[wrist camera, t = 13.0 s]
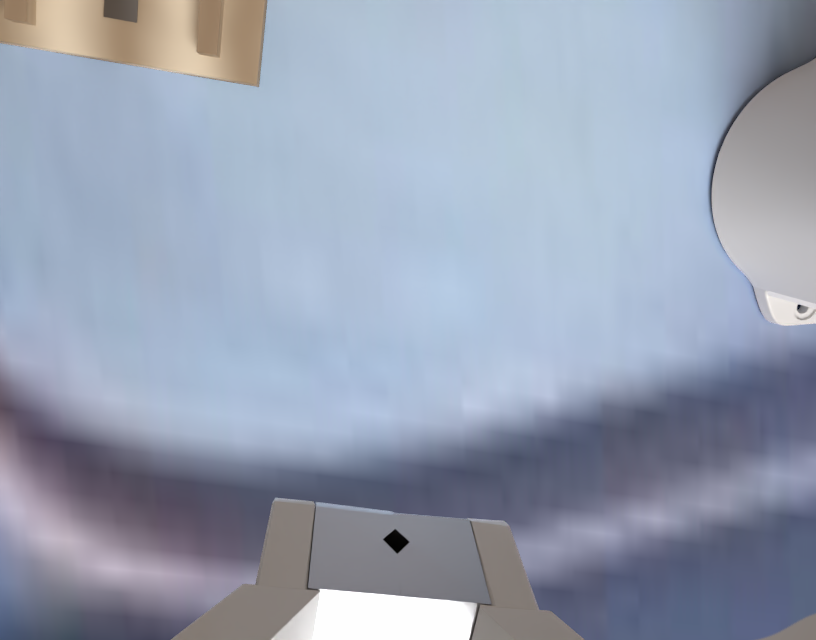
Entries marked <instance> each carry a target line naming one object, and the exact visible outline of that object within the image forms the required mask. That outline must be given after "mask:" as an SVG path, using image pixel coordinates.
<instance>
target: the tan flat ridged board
mask: <svg viewBox="0 0 816 640" xmlns="http://www.w3.org/2000/svg"><path fill="white" fill-rule="evenodd" d="M266 9H267V0H0V43H3V44H9V45H15V46H21V47H27V48H33V49H39V50H45V51H51V52H56V53H62V54H68V55H74V56H80V57H86V58H92V59H98V60H103V61H109V62H115V63H121V64H127V65H133V66H139V67H145V68H150V69H156V70H162V71H168V72H174V73H180V74H186V75H192V76H198V77H203V78H209V79H215V80H221V81H227V82H233V83H239V84H245V85H250V86H256V87H259V81H260V71H261V60H262V50H263V40H264V29H265V19H266Z"/></svg>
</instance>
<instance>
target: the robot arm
mask: <svg viewBox="0 0 816 640" xmlns="http://www.w3.org/2000/svg"><path fill="white" fill-rule="evenodd" d="M712 212H713V218H714V223H715V227H716V231H717V234H718V237H719V239H720V241H721V244H722V246H723V248H724V249H725V251H726V253H727V255H728V256H729V258H730V259H731V260H732V262H733V263H734V264H735V265H736V266H737V267H738V268H739V269H740V271H741V272H742V273H743V274H744V275H745V276H746V277H747V278H748V280H749V281H750V282H751V284H752V285H753V288H754V291H755V295H756V298H757V302H758V305H759V308H760V310H761V312H762V315H763V316H764V318H765V319H766V320H767V321H769V322H771V323H774V324H779V325H783V326H790V325H802V324H815V323H816V58H815V59H813V60H812V61H810V62H808V63H806V64H805V65H802V66H800V67H798V68H796V69H794V70H792V71H790V72H788V73H786V74H784V75H782V76H781V77H779V78H777V79H776V80H774V81H773V82H771V83H770V84H769V85H767V86H766V87H765V88H764V89H762V90H761V91H760V92H759V93H758V94H757V95H756V96H755V97H754V98H753V99H752V100H751V101H750V102H749V103H748V104H747V105H746V107H745V108H744V109H743V110H742V112H741V113H740V114H739V116H738V117H737V119H736V120H735V122H734V123H733V125H732V127H731V128H730V130H729V132H728V134H727V136H726V138H725V140H724V142H723V145H722V147H721V150H720V152H719V155H718V158H717V162H716V166H715V170H714V176H713V182H712ZM798 304H800V305H801V307H800V308H799V309H798V310H797V306H798ZM171 640H584V639H583V638H582V637H581V636H579V635H578V634H577V633H576V632H575V631H574V630H572V629H571V628H570V627H569V626H568V625H566V624H565V623H564V622H563V621H562V620H561V619H559V618H558V617H557V616H556V615H555V614H553V613H552V612H551V611H544V610H539V608H538V605H537V603H536V600H535V597H534V594H533V591H532V588H531V586H530V583H529V580H528V577H527V574H526V572H525V569H524V566H523V563H522V560H521V557H520V555H519V552H518V549H517V546H516V543H515V540H514V538H513V535H512V532H511V529H510V526H509V525H508V524H507V523H506V522H505V521H498V520H483V519H468V518H467V519H460V518H448V517H436V516H425V515H413V514H401V513H393V512H391V511H383V510H375V509H367V508H359V507H351V506H343V505H335V504H327V503H319V502H316V505H315V504H314V502H313V501H303V500H293V499H283V498H275V500H274V501H273V503H272V508H271V512H270V517H269V522H268V527H267V531H266V536H265V541H264V546H263V551H262V555H261V560H260V565H259V570H258V575H257V579H256V584H255V585H251V584H242V585H241V586H240V587H238V588H237V589H236V590H234V591H233V592H232V593H231V594H229V595H228V596H227V597H225V598H224V599H223V600H221V601H220V602H219V603H218V604H216V605H215V606H214V607H212V608H211V609H210V610H209V611H207V612H206V613H205V614H203V615H202V616H201V617H200V618H198V619H197V620H196V621H194V622H193V623H192V624H190V625H189V626H188V627H187V628H185V629H184V630H183V631H181V632H180V633H179V634H178V635H176V636H175V637H174V638H172V639H171Z"/></svg>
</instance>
